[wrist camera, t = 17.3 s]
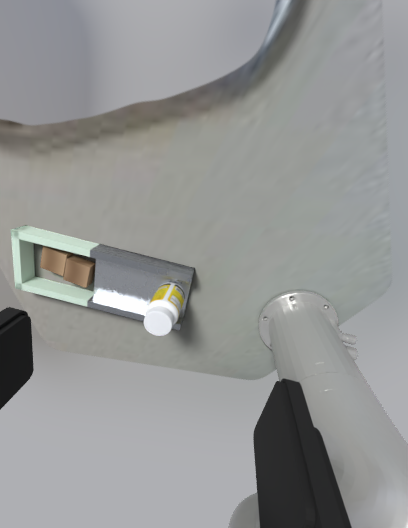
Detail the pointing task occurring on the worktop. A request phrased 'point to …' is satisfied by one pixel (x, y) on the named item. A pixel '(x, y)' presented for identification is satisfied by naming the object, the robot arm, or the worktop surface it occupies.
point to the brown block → (79, 271)
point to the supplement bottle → (164, 309)
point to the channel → (133, 281)
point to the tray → (26, 270)
